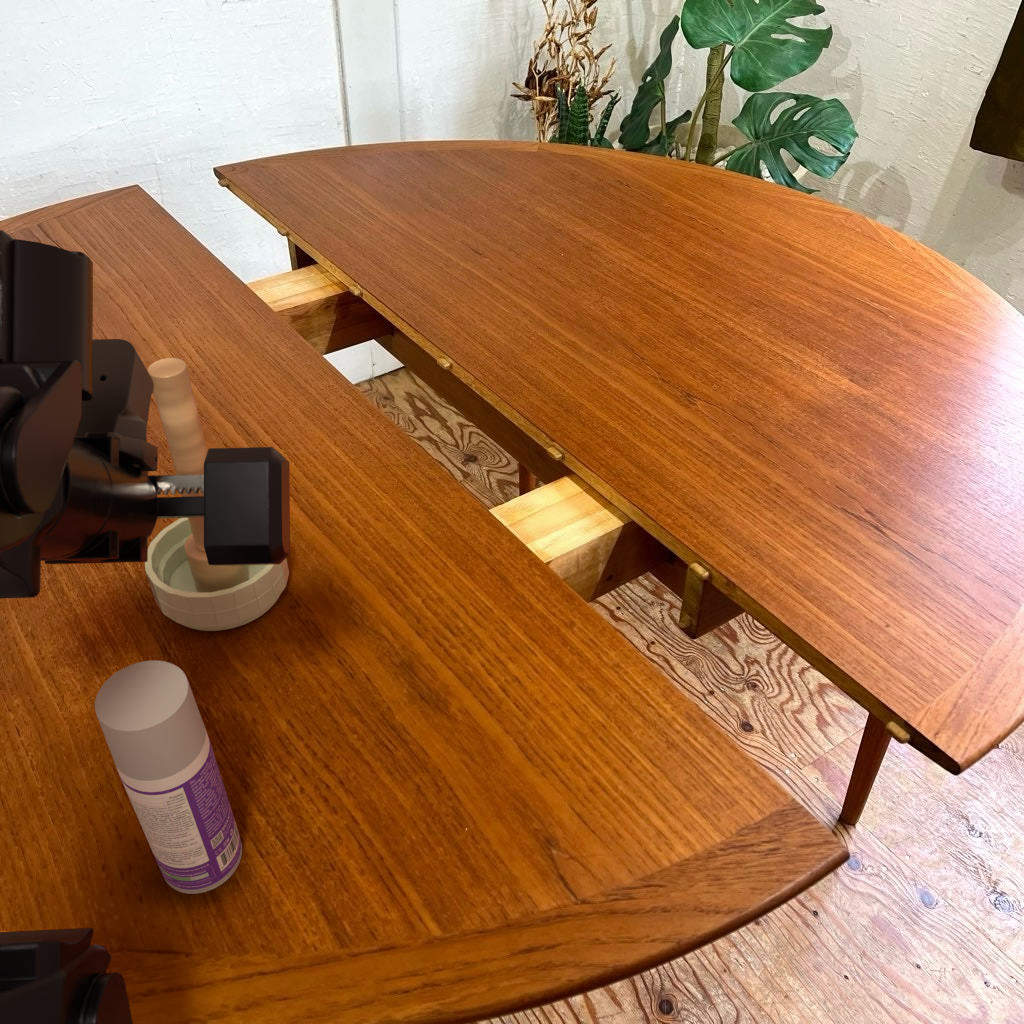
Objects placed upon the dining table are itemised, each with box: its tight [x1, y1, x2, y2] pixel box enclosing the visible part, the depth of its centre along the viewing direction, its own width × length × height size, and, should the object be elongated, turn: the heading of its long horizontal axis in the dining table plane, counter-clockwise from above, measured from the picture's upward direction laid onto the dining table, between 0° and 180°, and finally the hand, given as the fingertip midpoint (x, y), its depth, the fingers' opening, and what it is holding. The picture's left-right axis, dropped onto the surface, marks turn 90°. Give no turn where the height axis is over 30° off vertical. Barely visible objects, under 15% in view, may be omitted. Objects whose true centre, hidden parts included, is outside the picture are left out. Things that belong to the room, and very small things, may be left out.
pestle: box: [147, 357, 249, 592], centre depth 68 cm, size 4×4×19 cm
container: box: [94, 659, 243, 895], centre depth 52 cm, size 5×5×15 cm
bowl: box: [144, 518, 290, 632], centre depth 73 cm, size 10×10×4 cm
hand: (160, 522), depth 59 cm, fingers open, 9 cm apart
